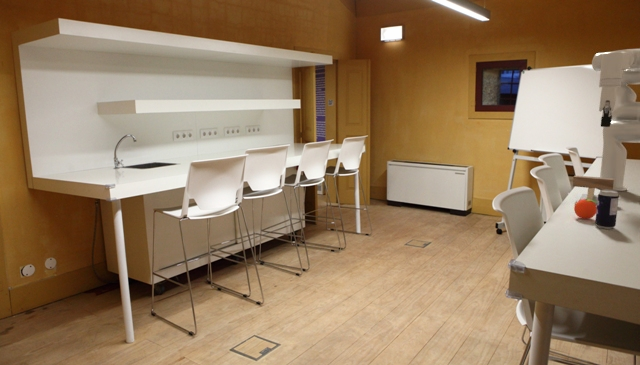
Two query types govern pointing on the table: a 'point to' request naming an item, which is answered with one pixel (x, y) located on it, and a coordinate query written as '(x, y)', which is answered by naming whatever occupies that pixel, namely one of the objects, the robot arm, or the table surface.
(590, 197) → the ridge stand
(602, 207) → the beverage can
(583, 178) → the walnut rod
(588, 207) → the tomato
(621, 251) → the table surface
